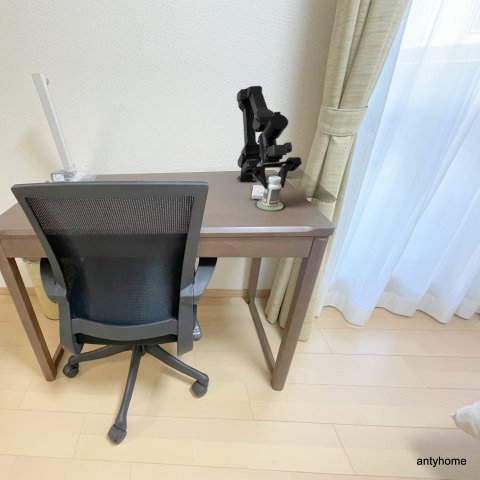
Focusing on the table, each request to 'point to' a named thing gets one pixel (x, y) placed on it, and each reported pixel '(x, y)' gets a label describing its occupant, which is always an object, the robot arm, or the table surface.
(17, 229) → the table surface
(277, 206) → the coaster
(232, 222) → the table surface
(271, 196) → the pill bottle
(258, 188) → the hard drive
